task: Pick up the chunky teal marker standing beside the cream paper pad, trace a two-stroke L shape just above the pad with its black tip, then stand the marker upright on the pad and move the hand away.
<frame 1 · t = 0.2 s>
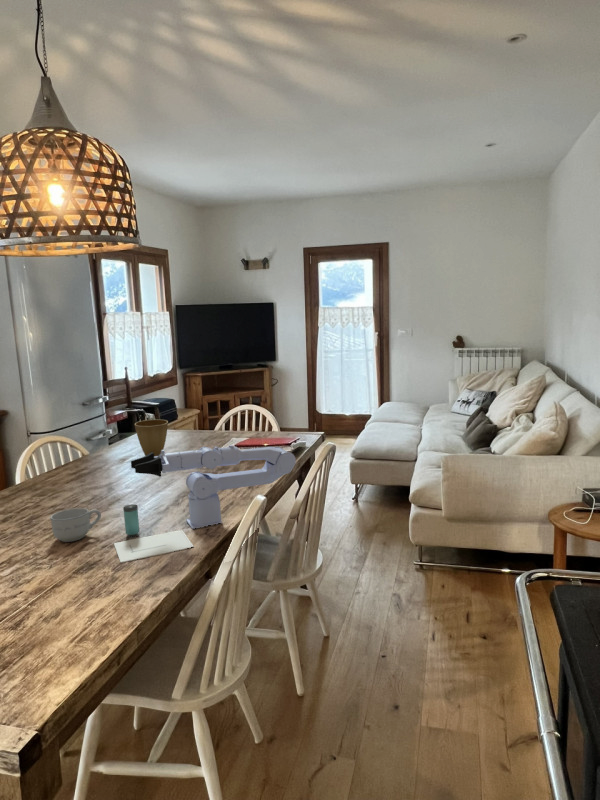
hand: (133, 466, 165), 21 cm above the table, tool horizontal, fingers open, 7 cm apart
teacup: (78, 537, 168), on the table
paper pad: (153, 545, 160), on the table
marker: (132, 535, 168), on the table
plant pot: (153, 456, 261), on the table
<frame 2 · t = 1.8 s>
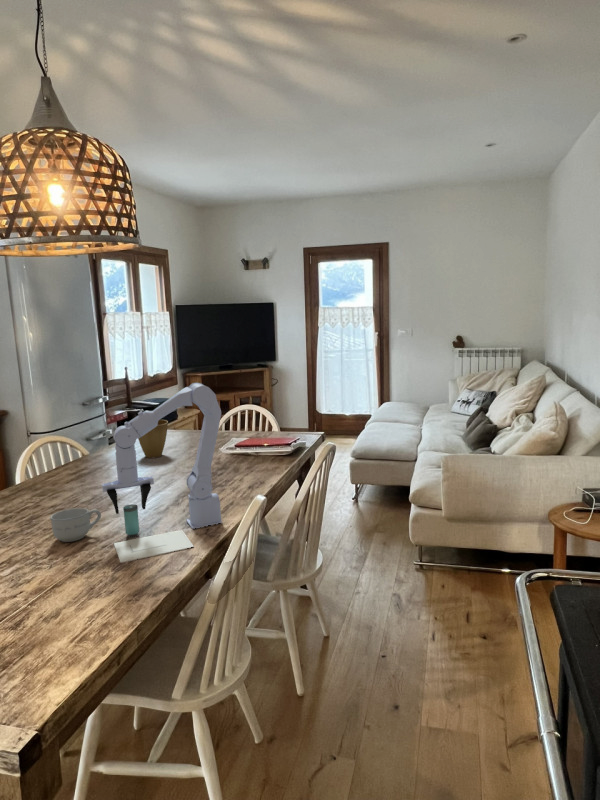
hand: (130, 510, 167), 8 cm above the table, tool pointing down, fingers open, 7 cm apart
nothing on the table moved.
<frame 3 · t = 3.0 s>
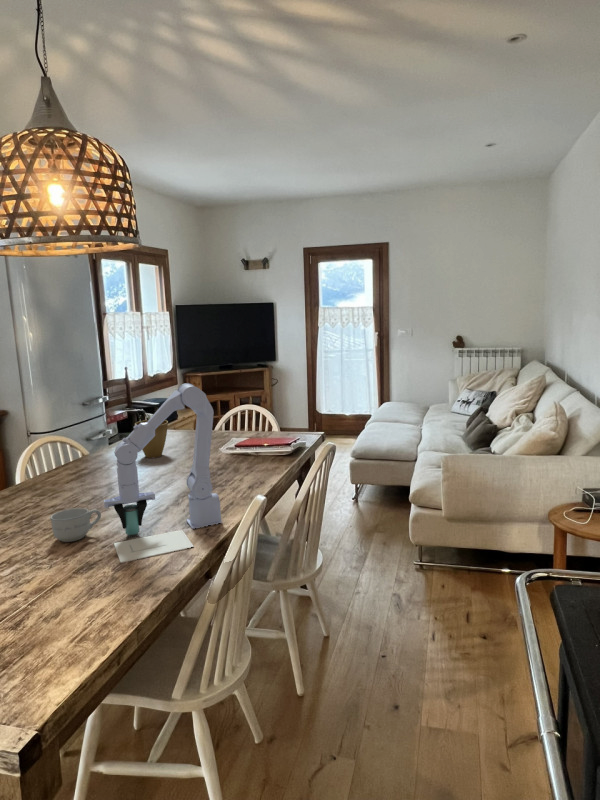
hand: (132, 526, 168), 3 cm above the table, tool pointing down, fingers closed on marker, 4 cm apart
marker: (132, 535, 168), on the table, touching gripper
everything else where it was.
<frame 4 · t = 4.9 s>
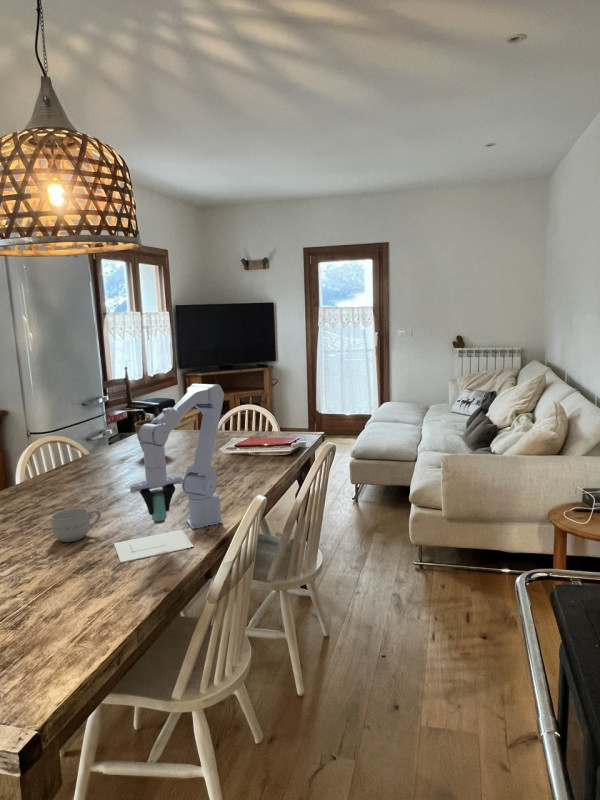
hand: (158, 512, 159), 10 cm above the table, tool pointing down, fingers closed on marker, 4 cm apart
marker: (159, 521, 159), point 7 cm above the table, touching gripper
everything else where it was.
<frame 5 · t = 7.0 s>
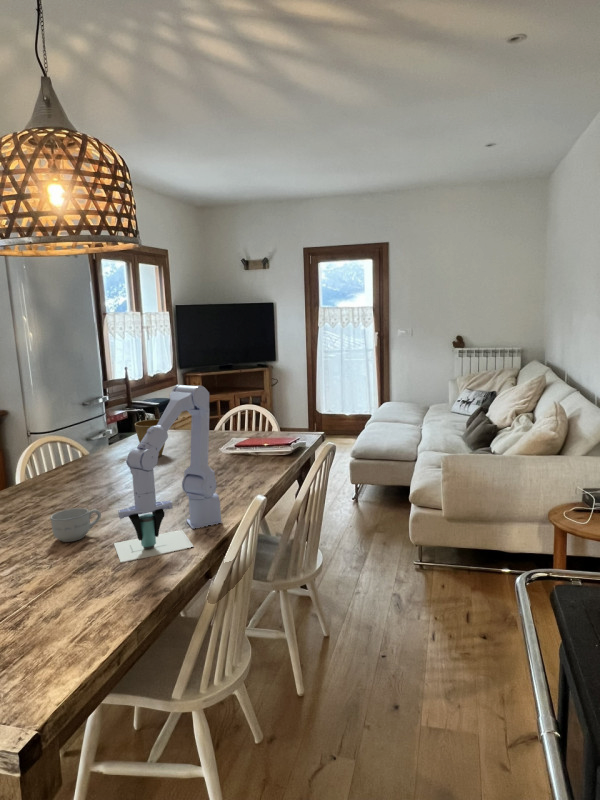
hand: (148, 537, 157), 4 cm above the table, tool pointing down, fingers closed on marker, 4 cm apart
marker: (149, 547, 157), point 1 cm above the table, touching gripper
everything else where it was.
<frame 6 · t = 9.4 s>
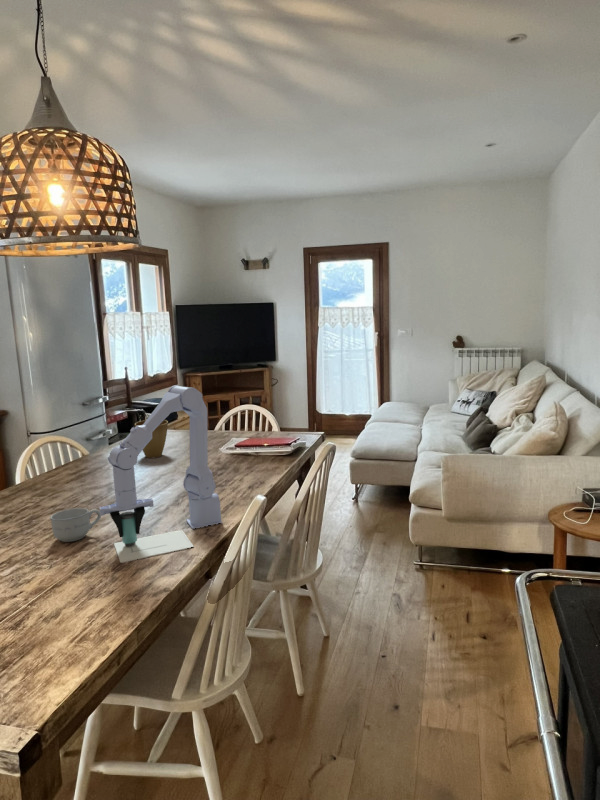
hand: (129, 534, 160), 4 cm above the table, tool pointing down, fingers closed on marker, 4 cm apart
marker: (130, 544, 160), point 1 cm above the table, touching gripper
everything else where it was.
when the fingers open (4 cm above the table, at t = 11.3 s): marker stays where it is, resting on paper pad.
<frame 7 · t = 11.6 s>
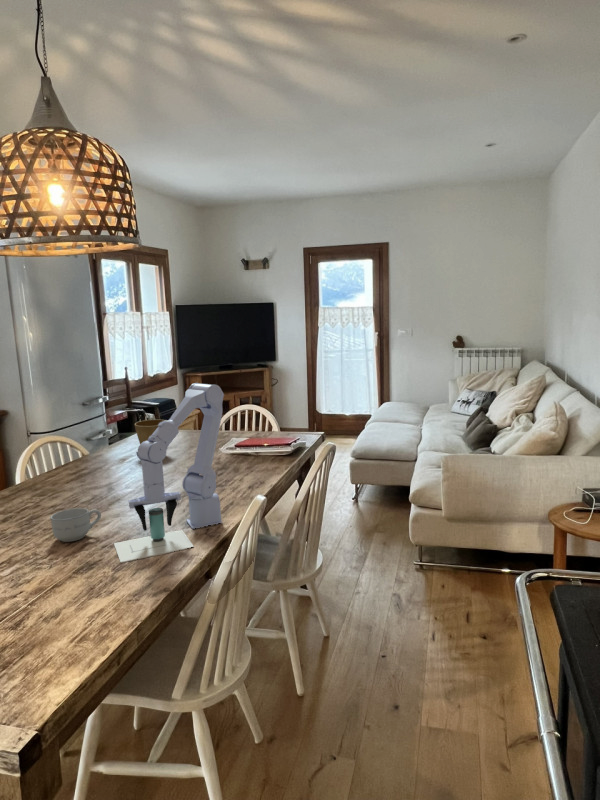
hand: (157, 527, 163), 4 cm above the table, tool pointing down, fingers open, 6 cm apart
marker: (158, 539, 163), resting on paper pad
everything else where it was.
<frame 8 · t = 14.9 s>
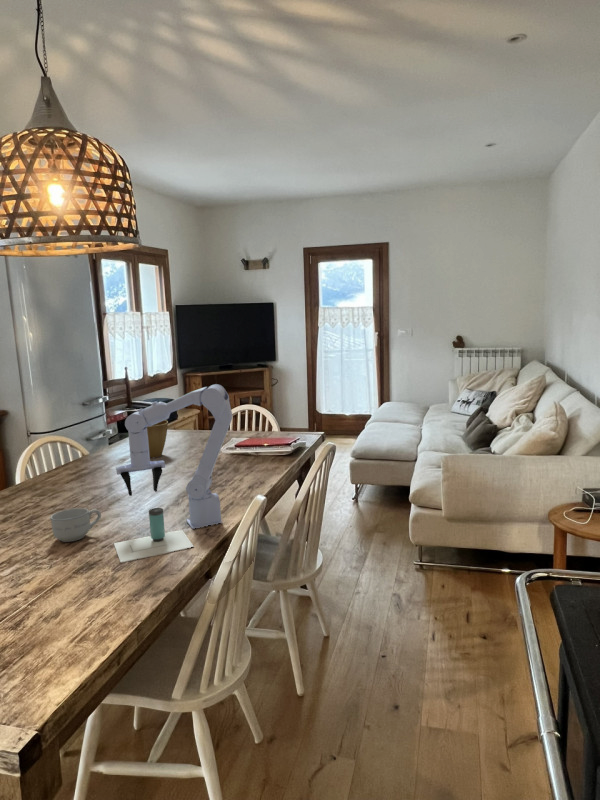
hand: (143, 492, 175), 10 cm above the table, tool pointing down, fingers open, 7 cm apart
nothing on the table moved.
at the end: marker 0.0 cm from the target spot on the paper pad, point 0.3 cm above the paper pad's base; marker tilted 0°; the gripper is holding nothing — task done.
